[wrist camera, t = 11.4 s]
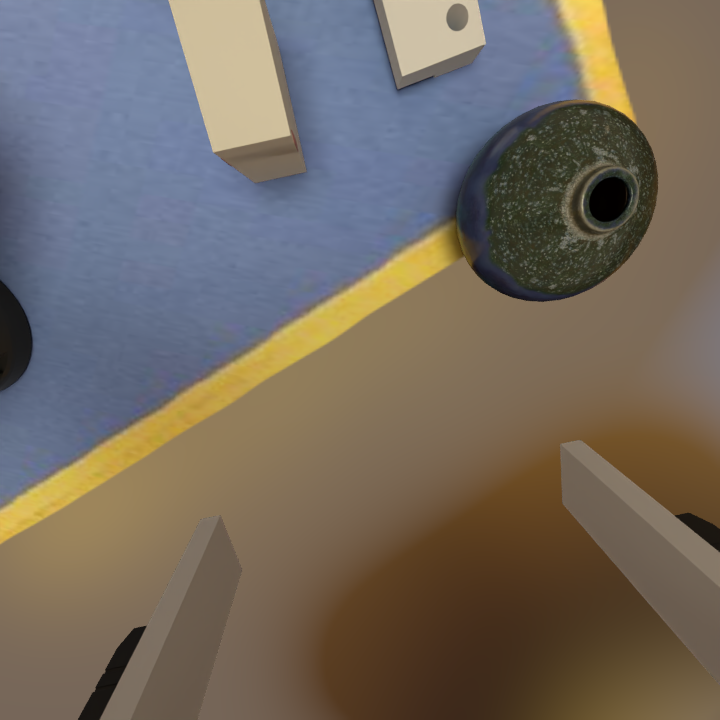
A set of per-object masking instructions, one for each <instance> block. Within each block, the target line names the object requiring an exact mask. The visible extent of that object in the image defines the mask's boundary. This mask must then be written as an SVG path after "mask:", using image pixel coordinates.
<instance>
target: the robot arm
mask: <svg viewBox="0 0 720 720" xmlns="http://www.w3.org/2000/svg"><path fill="white" fill-rule="evenodd" d="M30 353H31V335H30V330H29V326H28V323H27V320H26V317H25V315H24V313H23V311H22V309H21V307H20V305H19V304H18V302H17V300H16V299H15V298H14V296H13V295H12V294H11V292H10V291H9V290H8V289H7V288H6V287H5V286H4V285H3V284H2V283H1V282H0V391H1V390H4V389H5V388H7V387H9V386H10V385H12V384H13V383H14V382H15V381H16V380H17V379H18V378H19V377H20V376H21V375H22V373H23V372H24V370H25V368H26V366H27V364H28V361H29V358H30ZM560 449H561V477H562V503H563V505H564V506H565V507H566V508H567V509H568V510H569V511H570V512H571V514H572V515H573V516H574V517H575V518H576V520H577V521H578V522H579V523H580V524H581V525H582V526H583V528H584V529H585V530H586V531H587V532H588V533H589V534H590V536H591V537H592V538H593V539H594V540H595V542H596V543H597V544H598V545H599V546H600V547H601V548H602V550H603V551H604V552H605V553H606V554H607V555H608V556H609V558H610V559H611V560H612V561H613V562H614V563H615V565H616V566H617V567H618V568H619V569H620V570H621V572H622V573H623V574H624V575H625V576H626V577H627V579H628V580H629V581H630V582H631V583H632V584H633V585H634V587H635V588H636V589H637V590H638V591H639V592H640V593H641V595H642V596H643V597H644V598H645V599H646V601H647V602H648V603H649V604H650V605H651V606H652V607H653V608H654V610H655V611H656V612H657V613H658V614H659V616H660V617H661V618H662V619H663V620H664V621H665V622H666V624H667V625H668V626H669V627H670V628H671V629H672V631H673V632H674V633H675V634H676V635H677V636H678V637H679V639H680V640H681V641H682V642H683V643H684V644H685V646H686V647H687V648H688V649H689V650H690V651H691V653H692V654H693V655H694V656H695V657H696V658H697V659H698V661H699V662H700V663H701V664H702V665H703V666H704V668H706V670H707V671H708V672H709V673H710V675H711V676H712V677H713V678H714V679H715V680H716V681H717V683H718V684H719V685H720V529H719V528H717V527H716V526H715V525H713V524H711V523H710V522H707V521H705V520H703V519H701V518H699V517H697V516H695V515H692V514H691V513H685V514H680V515H675V516H674V515H673V514H672V513H670V512H669V511H668V510H666V509H665V508H664V507H663V506H662V505H660V504H659V503H658V502H657V501H655V500H654V499H653V498H652V497H650V496H649V495H648V494H647V493H645V492H644V491H643V490H642V489H640V488H639V487H638V486H637V485H636V484H634V483H633V482H632V481H630V480H629V479H628V478H627V477H625V476H624V475H623V474H622V473H621V472H620V471H618V470H617V469H616V468H615V467H613V466H612V465H611V464H610V463H608V462H607V461H606V460H605V459H603V458H602V457H601V456H600V455H598V454H597V453H596V452H595V451H593V450H592V449H591V448H590V447H589V446H587V445H586V444H585V443H584V442H582V441H581V440H578V441H572V442H568V443H563V444H560ZM241 572H242V568H241V565H240V563H239V560H238V558H237V555H236V553H235V550H234V548H233V545H232V543H231V540H230V538H229V535H228V533H227V530H226V528H225V525H224V523H223V520H222V518H221V516H220V515H219V516H214V517H209V518H204V519H201V520H200V522H199V524H198V526H197V528H196V530H195V532H194V534H193V536H192V538H191V540H190V542H189V544H188V546H187V548H186V550H185V552H184V554H183V556H182V558H181V559H180V561H179V564H178V566H177V567H176V569H175V571H174V573H173V575H172V577H171V579H170V581H169V583H168V585H167V587H166V589H165V592H164V593H163V595H162V597H161V599H160V601H159V603H158V605H157V607H156V609H155V611H154V613H153V615H152V617H151V619H150V621H149V623H148V625H147V626H143V627H138V628H134V629H133V630H132V631H131V633H130V634H129V635H128V636H127V637H126V638H125V640H124V641H123V642H122V643H121V644H120V646H119V647H118V648H117V649H116V651H115V653H114V655H113V657H112V658H111V660H110V662H109V664H108V666H107V668H106V669H105V670H106V672H105V674H103V675H102V677H101V679H100V680H99V682H98V684H97V686H96V690H95V692H93V693H92V695H91V697H90V698H89V700H88V702H87V704H86V706H85V707H84V710H83V711H82V713H81V715H80V717H79V718H78V720H198V716H199V713H200V710H201V706H202V703H203V700H204V696H205V693H206V690H207V686H208V683H209V680H210V676H211V673H212V669H213V666H214V662H215V659H216V656H217V653H218V649H219V646H220V643H221V639H222V635H223V633H224V629H225V626H226V622H227V619H228V616H229V612H230V609H231V606H232V602H233V599H234V596H235V592H236V589H237V585H238V582H239V579H240V576H241Z"/></svg>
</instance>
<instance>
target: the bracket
mask: <svg viewBox="0 0 720 720" xmlns="http://www.w3.org/2000/svg"><path fill="white" fill-rule="evenodd" d="M374 4H375V7H376V11H377V15H378V19H379V22H380V26H381V30H382V34H383V37H384V41H385V45H386V49H387V52H388V56H389V60H390V64H391V67H392V71H393V75H394V78H395V82H396V86H397V90H398V89H400V88H403V87H405V86H408V85H410V84H413V83H416V82H418V81H421V80H423V79H426V78H428V77H431V76H433V77H434V78H435V77H438V76H440V75H443V74H445V73H448V72H450V71H453V70H456V69H458V68H461V67H463V66H466V65H468V64H471V63H472V62H473V61H474V59H475V58H476V57H477V55H478V54H479V52H480V51H481V50H482V48H483V47H484V46H485V44H486V42H485V37H484V32H483V27H482V22H481V16H480V11H479V6H478V1H477V0H374ZM451 29H452V30H451Z"/></svg>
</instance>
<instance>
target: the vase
mask: <svg viewBox="0 0 720 720" xmlns="http://www.w3.org/2000/svg"><path fill="white" fill-rule="evenodd" d="M657 193H658V173H657V166H656V161H655V158H654V154H653V151H652V148H651V146H650V145H649V143H648V141H647V139H646V137H645V135H644V134H643V133H642V131H641V130H640V129H639V128H638V126H637V125H636V124H635V123H634V122H633V121H632V120H631V119H629V118H628V117H627V116H626V115H625V114H623V113H621V112H620V111H618V110H616V109H614V108H612V107H610V106H608V105H605V104H602V103H598V102H595V101H586V100H565V101H557V102H553V103H549V104H545V105H542V106H538V107H536V108H534V109H532V110H530V111H528V112H526V113H524V114H522V115H520V116H518V117H517V118H515V119H514V120H512V121H511V122H509V123H508V124H506V125H505V126H503V127H502V128H501V129H500V130H499V131H498V132H497V133H496V134H495V135H494V136H493V137H492V138H491V139H490V140H489V141H488V142H487V143H486V144H485V146H484V147H483V148H482V149H481V151H480V152H479V153H478V154H477V156H476V158H475V159H474V161H473V162H472V164H471V166H470V167H469V170H468V172H467V174H466V176H465V179H464V181H463V184H462V187H461V190H460V194H459V198H458V203H457V211H456V227H457V234H458V240H459V243H460V246H461V249H462V252H463V254H464V256H465V258H466V260H467V262H468V263H469V265H470V266H471V268H472V269H473V270H474V272H475V273H476V274H477V276H479V277H480V278H481V279H482V280H483V281H484V282H485V283H486V284H488V285H489V286H491V287H492V288H494V289H495V290H497V291H499V292H500V293H503V294H505V295H508V296H510V297H513V298H517V299H521V300H526V301H538V302H544V301H553V300H561V299H565V298H569V297H572V296H575V295H578V294H580V293H582V292H585V291H587V290H589V289H591V288H593V287H595V286H597V285H598V284H600V283H602V282H603V281H604V280H606V279H607V278H608V277H610V276H611V275H612V274H613V273H614V272H616V271H617V270H618V269H619V268H620V267H621V266H622V265H623V264H624V263H625V262H626V261H627V260H628V259H629V257H630V256H631V255H632V254H633V252H634V251H635V249H636V248H637V247H638V245H639V244H640V242H641V240H642V238H643V237H644V235H645V234H646V231H647V229H648V227H649V224H650V222H651V220H652V217H653V213H654V209H655V206H656V200H657Z"/></svg>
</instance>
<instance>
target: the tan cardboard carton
mask: <svg viewBox="0 0 720 720" xmlns="http://www.w3.org/2000/svg"><path fill="white" fill-rule="evenodd" d="M169 3H170V7H171V10H172V14H173V17H174V20H175V24H176V27H177V31H178V34H179V37H180V41H181V44H182V48H183V51H184V54H185V58H186V61H187V65H188V68H189V71H190V75H191V78H192V82H193V85H194V88H195V92H196V95H197V99H198V102H199V106H200V109H201V112H202V116H203V119H204V123H205V126H206V129H207V133H208V136H209V140H210V143H211V146H212V150H213V153H215V154H216V155H218V156H219V157H220V158H221V159H222V160H223V161H225V162H226V163H228V164H229V165H230V166H232V167H234V168H235V169H237V170H238V171H239V172H241V173H242V174H243V175H245V176H246V177H247V178H249V179H250V180H252V181H253V182H254V183H258V182H263V181H268V180H272V179H277V178H281V177H286V176H290V175H295V174H300V173H304V172H307V170H306V166H305V161H304V157H303V153H302V148H301V144H300V139H299V135H298V130H297V126H296V122H295V117H294V113H293V108H292V104H291V99H290V95H289V90H288V86H287V82H286V77H285V73H284V68H283V64H282V59H281V55H280V51H279V46H278V43H277V39H276V36H275V33H274V29H273V26H272V23H271V20H270V16H269V13H268V10H267V6H266V3H265V0H169Z"/></svg>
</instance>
